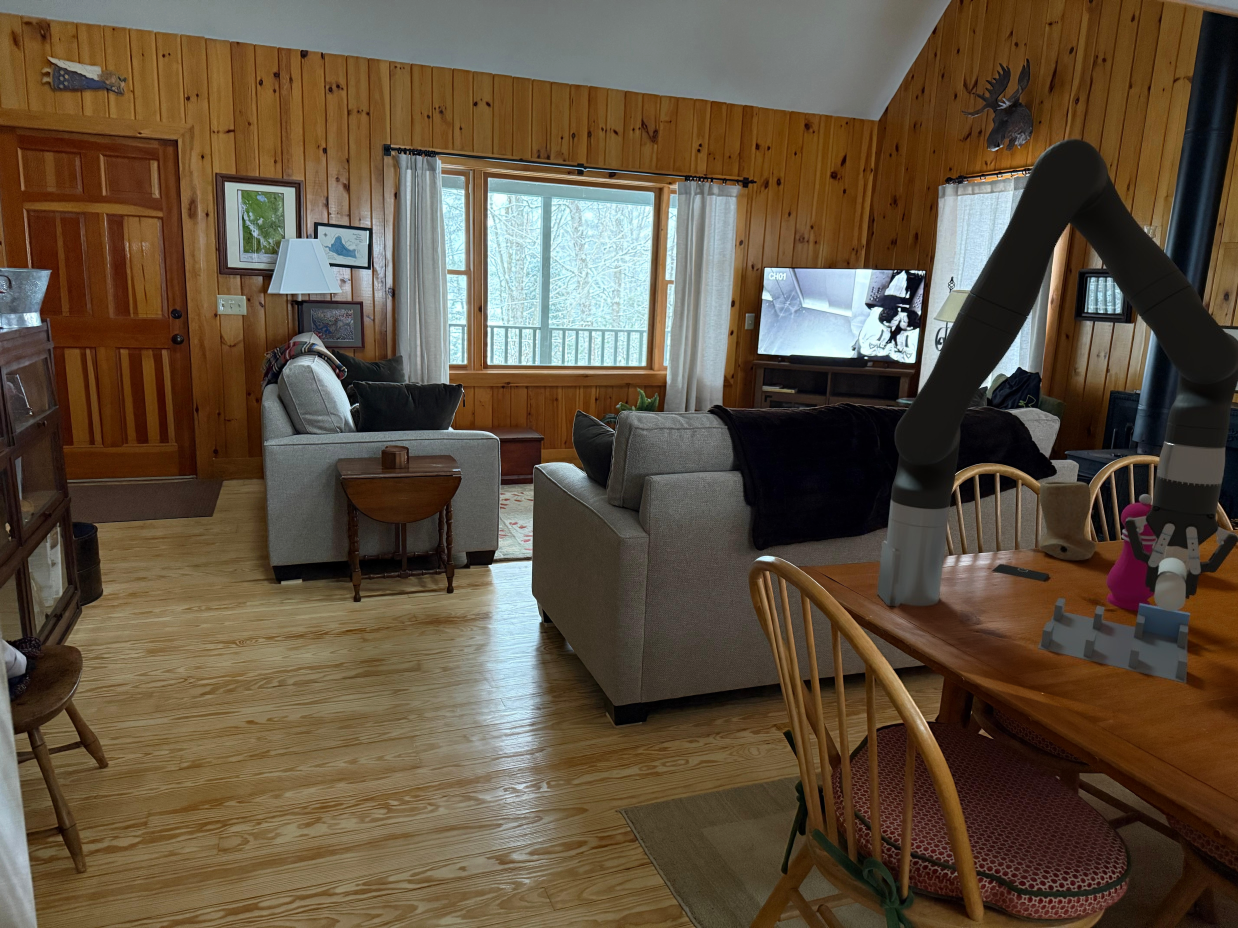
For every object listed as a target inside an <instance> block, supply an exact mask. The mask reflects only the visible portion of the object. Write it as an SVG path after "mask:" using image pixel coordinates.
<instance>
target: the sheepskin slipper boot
mask: <svg viewBox="0 0 1238 928" xmlns="http://www.w3.org/2000/svg"><path fill="white" fill-rule="evenodd" d="M1039 503H1040V508H1041V512H1042V515H1043V519H1044V523H1045V528H1046V535H1044V537H1043V538H1042V540H1041V542H1040V545H1039V548H1040V550H1042V551H1043V552H1045V553H1047V554H1048V555H1050V556H1053V557H1055V558H1057V559H1061V560H1065V561H1080V560H1081V561H1083V560H1087V559H1090V558H1091V557H1092V556H1094V553H1095V551H1096V548H1097V543H1096V542H1095V541H1094V540H1092V539H1088V538H1085V536H1084V533H1085V527H1086V523H1087V519H1088V516H1089V512H1090V510H1091V489H1090V485H1089V484H1087V483H1086V482H1083V481H1058V480H1057V481H1044V482H1042V483H1041V484H1040V485H1039Z"/></svg>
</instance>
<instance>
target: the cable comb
mask: <svg viewBox="0 0 1238 928" xmlns="http://www.w3.org/2000/svg"><path fill="white" fill-rule="evenodd" d="M1065 604H1066V599H1065V598H1062V597H1061V598H1060V597H1058V598H1057V601H1056V602H1055V604H1054V611H1053V615H1052V617H1051V619H1050V621H1047V622H1046V623H1045V625H1044V627H1043V630H1042V633H1041V634H1042V635H1041V640H1040V643H1039V644H1038V646H1037V649H1039V650H1043V651H1048V652H1052V653H1056V654H1061V655H1065V656H1069V657H1072V658H1073V657H1074V658H1078V659H1080V660H1081V659H1082V660H1086V661H1090V662H1094V663H1099V664H1101V665H1102V664H1103V665H1108V666H1111V667H1116V668H1119V669H1124V670H1128V671H1131V672H1136V673H1140V674H1143V675H1144V674H1145V675H1149V676H1154V677H1158V678H1162V679H1166V680H1169V681H1175V682H1178V683H1182V684H1187V677H1188V676H1187V671H1188V656H1189V655H1188V633H1189V622H1190V617H1191V613H1190V612H1186V611H1182V610H1181V611H1180V610H1176V611H1166V610H1163V609H1162V608H1160V607H1159V606H1158V605H1151V604H1150V605H1147V604H1141V603H1140V604H1139V610H1138V612H1137V616H1136V623H1135V626H1130V625H1126V624H1123V623H1122V624H1120V623H1117V622H1112V621H1109V620H1108V621H1107V620H1104V619H1103V618H1104V615H1105V614H1104V613H1105V608H1106V607H1104V606H1100V605H1097V606H1096V609H1095V610H1094V611H1095V612H1094V617H1089V616H1084V615H1080V614H1079V615H1078V614H1075V613H1069V612H1065Z"/></svg>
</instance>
